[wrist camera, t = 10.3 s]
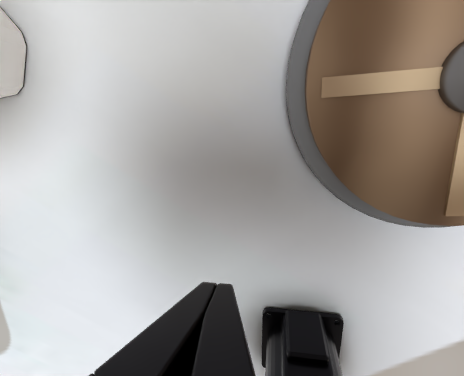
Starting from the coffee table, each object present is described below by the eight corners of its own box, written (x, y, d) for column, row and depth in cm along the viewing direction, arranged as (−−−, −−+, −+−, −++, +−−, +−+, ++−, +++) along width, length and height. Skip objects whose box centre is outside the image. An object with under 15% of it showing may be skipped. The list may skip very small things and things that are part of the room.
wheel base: (564, 224, 17) (595, 237, 16) (281, 212, 20) (281, 222, 19) (714, -150, 12) (787, -191, 10) (293, -95, 15) (295, -120, 13)
